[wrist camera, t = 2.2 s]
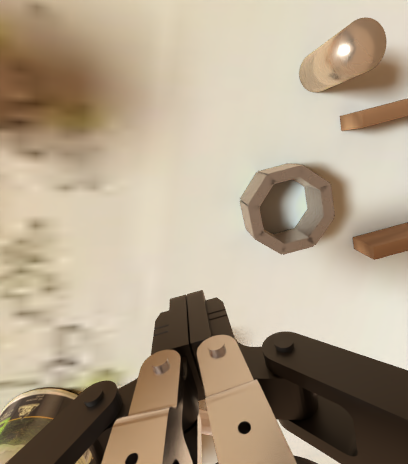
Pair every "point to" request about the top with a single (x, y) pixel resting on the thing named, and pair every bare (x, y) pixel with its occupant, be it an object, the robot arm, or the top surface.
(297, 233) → the metal ring
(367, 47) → the beige rounded cylinder
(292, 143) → the top surface
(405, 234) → the groove block
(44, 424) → the coffee can
